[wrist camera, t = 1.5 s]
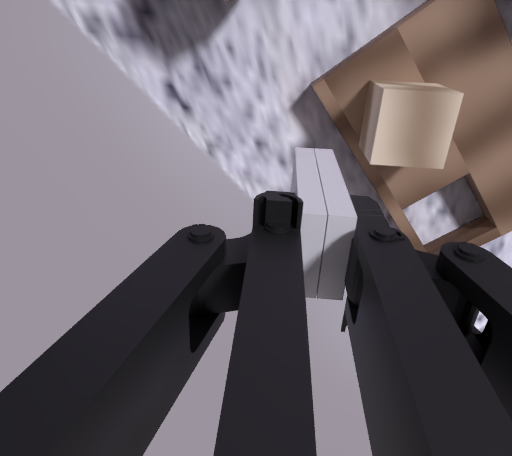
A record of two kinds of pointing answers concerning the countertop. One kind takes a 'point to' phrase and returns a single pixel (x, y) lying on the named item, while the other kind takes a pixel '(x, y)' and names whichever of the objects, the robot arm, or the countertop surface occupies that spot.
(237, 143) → the countertop surface
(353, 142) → the wooden flat square board
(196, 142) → the countertop surface
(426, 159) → the beech block
